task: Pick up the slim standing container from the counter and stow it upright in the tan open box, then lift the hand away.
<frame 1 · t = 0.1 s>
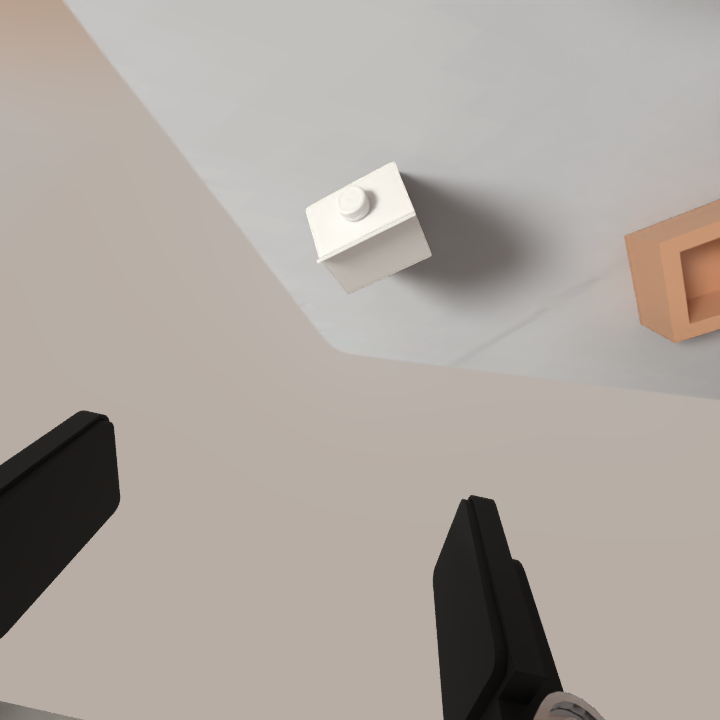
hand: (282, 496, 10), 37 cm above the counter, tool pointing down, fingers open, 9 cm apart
tan open box: (686, 262, 41), on the counter
milk carton: (379, 218, 43), on the counter
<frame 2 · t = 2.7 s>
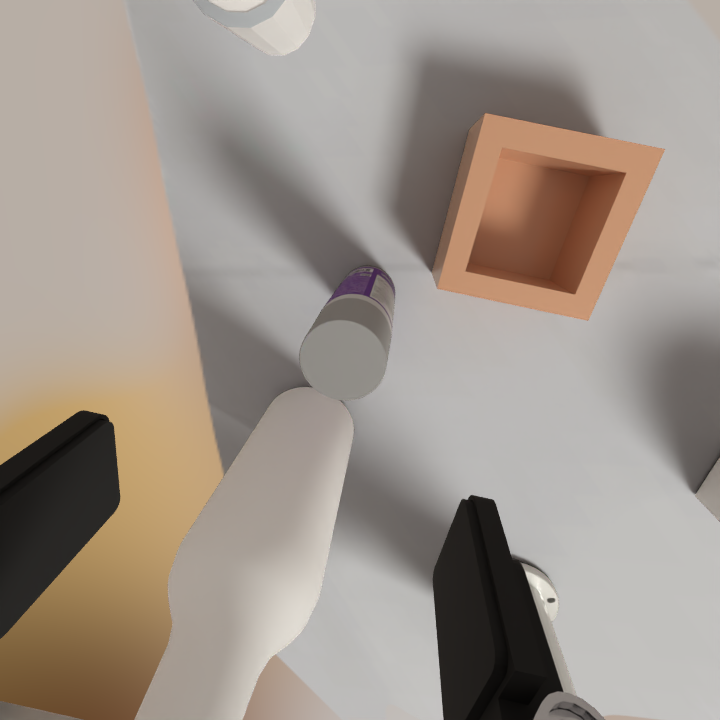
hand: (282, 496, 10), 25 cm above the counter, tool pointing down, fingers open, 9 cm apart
white cup: (276, 6, 27), on the counter
tan open box: (515, 219, 30), on the counter
container: (368, 292, 33), on the counter
alcohol: (311, 421, 39), on the counter
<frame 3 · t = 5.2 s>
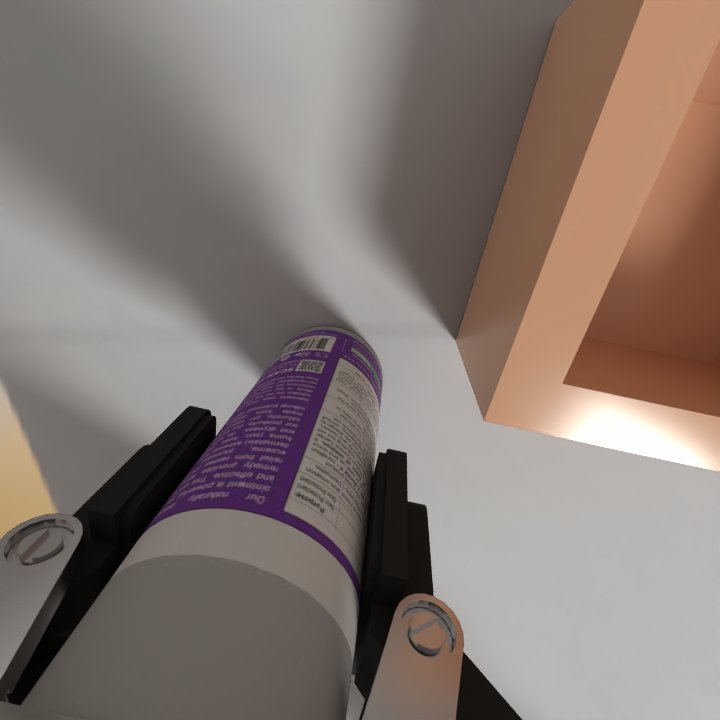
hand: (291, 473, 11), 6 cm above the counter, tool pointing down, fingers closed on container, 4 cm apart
tan open box: (644, 235, 14), on the counter
container: (330, 374, 17), on the counter, touching gripper
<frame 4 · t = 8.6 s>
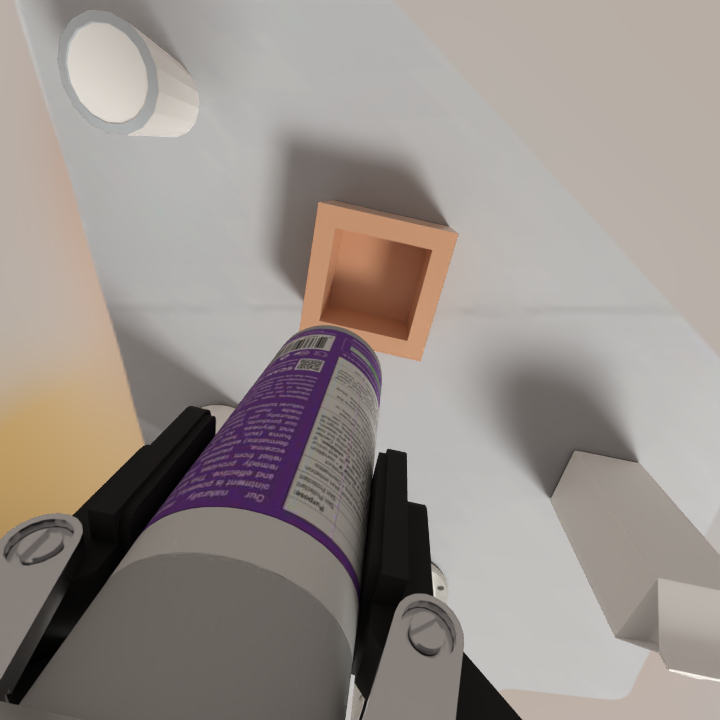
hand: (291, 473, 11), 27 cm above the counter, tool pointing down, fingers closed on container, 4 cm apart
white cup: (167, 98, 32), on the counter
tan open box: (377, 272, 36), on the counter
milk carton: (591, 480, 43), on the counter
container: (329, 373, 17), point 21 cm above the counter, touching gripper
alcohol: (226, 433, 45), on the counter
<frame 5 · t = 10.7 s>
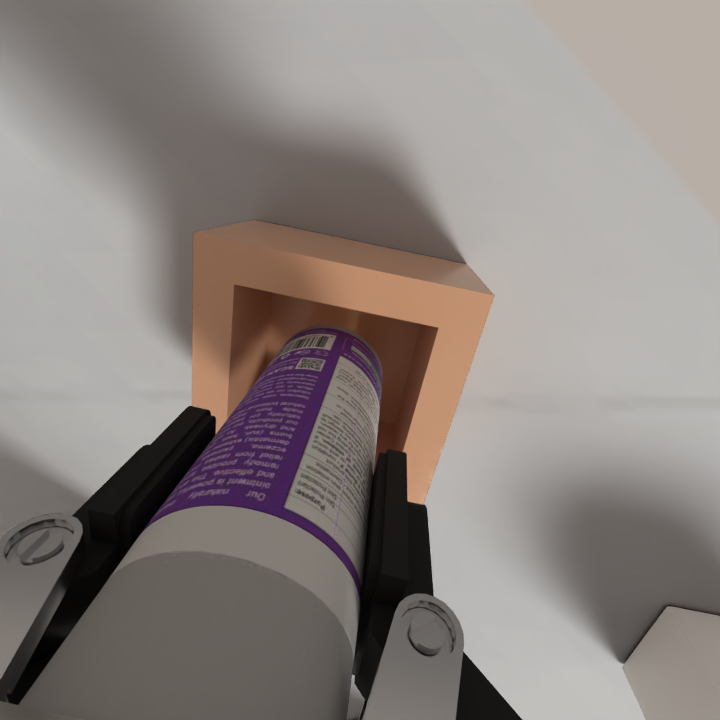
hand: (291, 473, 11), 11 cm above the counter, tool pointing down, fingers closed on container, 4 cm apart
tan open box: (342, 341, 21), on the counter
milk carton: (689, 642, 28), on the counter
container: (330, 372, 17), point 4 cm above the counter, touching gripper
when the fingers open (9 cm above the counter, at t = 12.2 s): container drops 1 cm, resting on tan open box.
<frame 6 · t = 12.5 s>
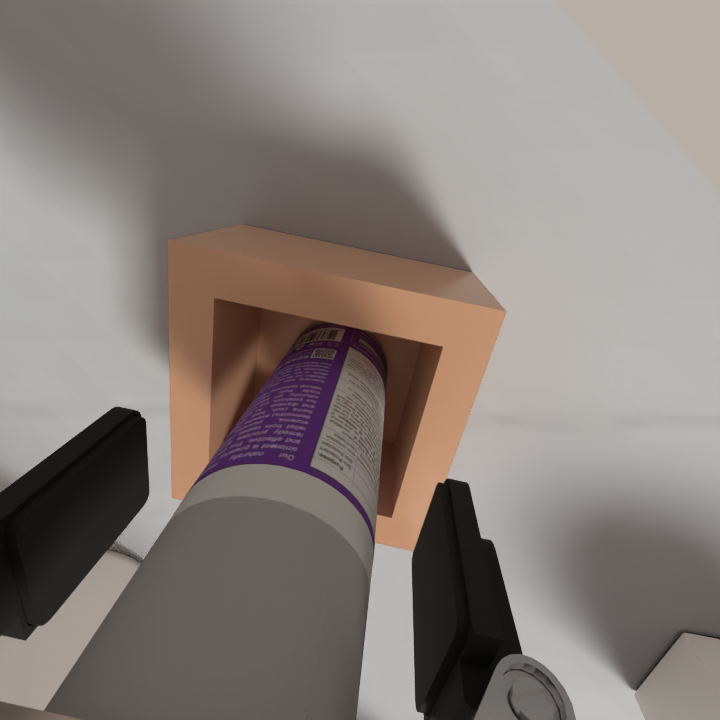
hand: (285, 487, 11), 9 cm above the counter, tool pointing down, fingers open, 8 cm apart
tan open box: (337, 354, 19), on the counter
milk carton: (706, 668, 26), on the counter
container: (338, 364, 19), point 1 cm above the counter, touching tan open box
alcohol: (117, 584, 29), on the counter
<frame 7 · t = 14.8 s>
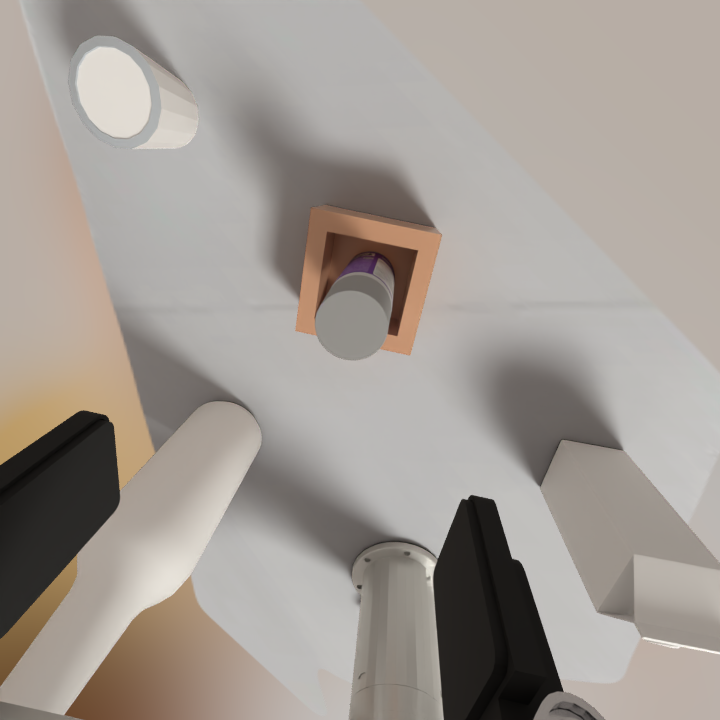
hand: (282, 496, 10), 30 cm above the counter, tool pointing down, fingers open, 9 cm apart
white cup: (168, 112, 34), on the counter
tan open box: (369, 272, 38), on the counter
milk carton: (579, 468, 45), on the counter
container: (370, 275, 37), point 1 cm above the counter, touching tan open box
alcohol: (229, 428, 47), on the counter
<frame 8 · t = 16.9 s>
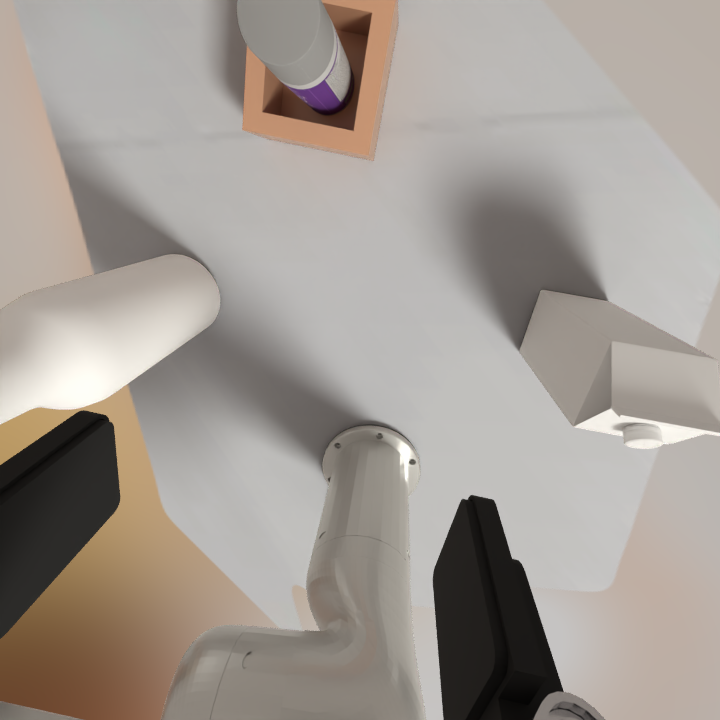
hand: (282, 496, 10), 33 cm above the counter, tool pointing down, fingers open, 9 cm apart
tan open box: (328, 84, 35), on the counter
milk carton: (561, 326, 41), on the counter
container: (328, 84, 34), point 1 cm above the counter, touching tan open box
alcohol: (186, 292, 44), on the counter
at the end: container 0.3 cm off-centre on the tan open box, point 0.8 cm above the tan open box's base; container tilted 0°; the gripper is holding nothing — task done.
